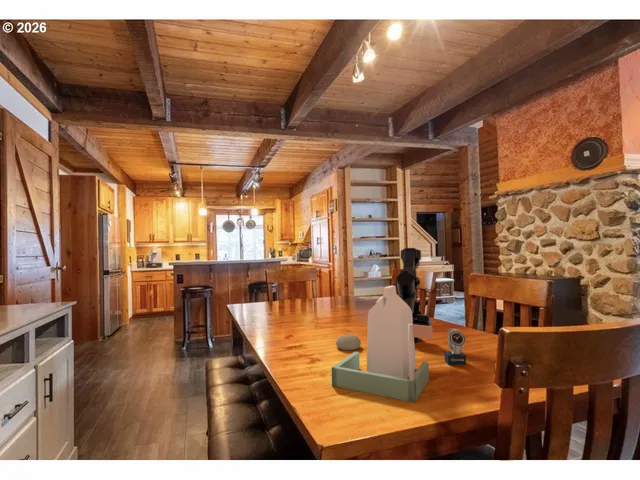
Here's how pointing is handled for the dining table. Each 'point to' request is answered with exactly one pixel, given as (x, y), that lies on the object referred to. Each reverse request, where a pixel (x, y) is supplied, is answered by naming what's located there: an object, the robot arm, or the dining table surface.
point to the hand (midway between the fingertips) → (396, 343)
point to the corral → (385, 385)
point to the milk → (389, 335)
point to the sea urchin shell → (348, 342)
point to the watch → (455, 348)
